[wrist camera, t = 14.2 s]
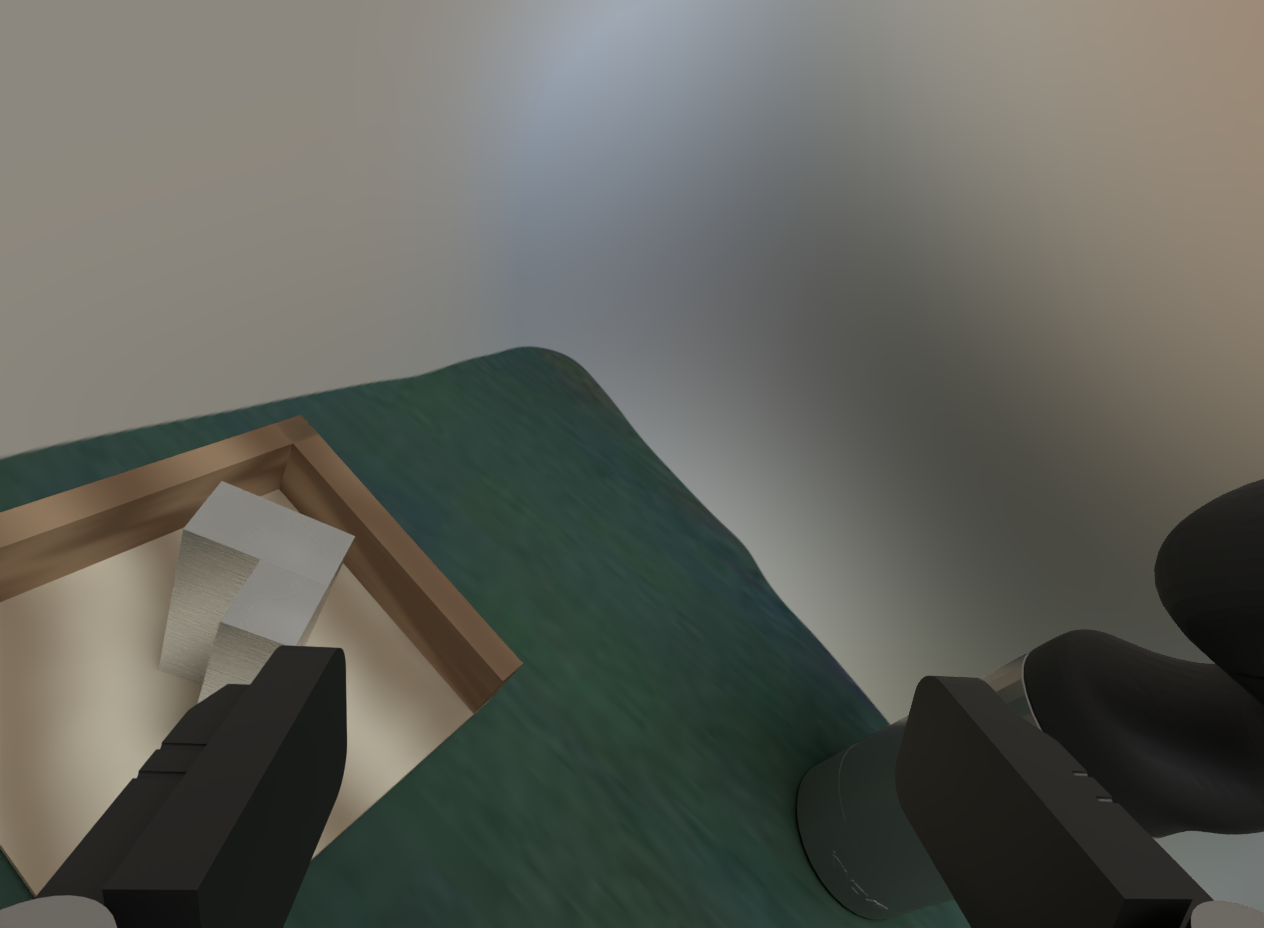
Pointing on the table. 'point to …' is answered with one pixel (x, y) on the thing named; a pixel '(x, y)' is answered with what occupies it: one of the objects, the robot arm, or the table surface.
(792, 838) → the table surface
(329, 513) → the wooden tray
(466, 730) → the table surface
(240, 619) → the bracket
